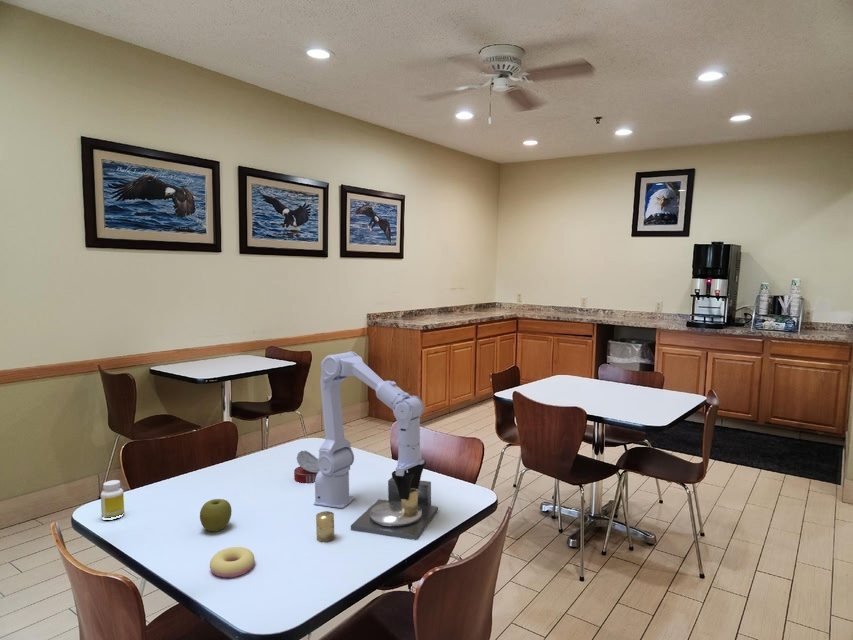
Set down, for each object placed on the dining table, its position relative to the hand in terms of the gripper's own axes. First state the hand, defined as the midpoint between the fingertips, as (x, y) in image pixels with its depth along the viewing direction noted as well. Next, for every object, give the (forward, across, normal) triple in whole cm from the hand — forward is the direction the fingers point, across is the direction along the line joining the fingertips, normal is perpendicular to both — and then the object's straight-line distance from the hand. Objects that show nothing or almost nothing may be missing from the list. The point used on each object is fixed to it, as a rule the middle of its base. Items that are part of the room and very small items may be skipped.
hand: (409, 493), depth 145 cm
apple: (+8, -19, +47) cm, 51 cm away
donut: (+8, -34, +30) cm, 46 cm away
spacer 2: (+6, 0, 0) cm, 6 cm away
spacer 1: (+8, -15, +17) cm, 24 cm away
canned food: (+8, +21, +43) cm, 48 cm away
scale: (+8, +1, +4) cm, 9 cm away
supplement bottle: (+8, -22, +79) cm, 82 cm away
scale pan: (+6, 0, +4) cm, 7 cm away
